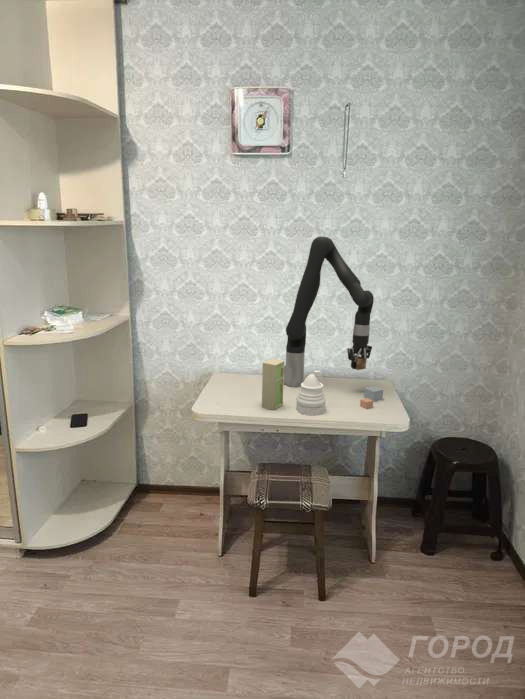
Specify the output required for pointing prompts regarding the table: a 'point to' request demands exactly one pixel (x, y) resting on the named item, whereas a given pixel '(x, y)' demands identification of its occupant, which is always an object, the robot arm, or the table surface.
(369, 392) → the slate block
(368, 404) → the terracotta block
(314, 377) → the honey pot
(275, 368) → the toy refrigerator
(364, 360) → the walnut block
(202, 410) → the table surface
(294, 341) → the robot arm
